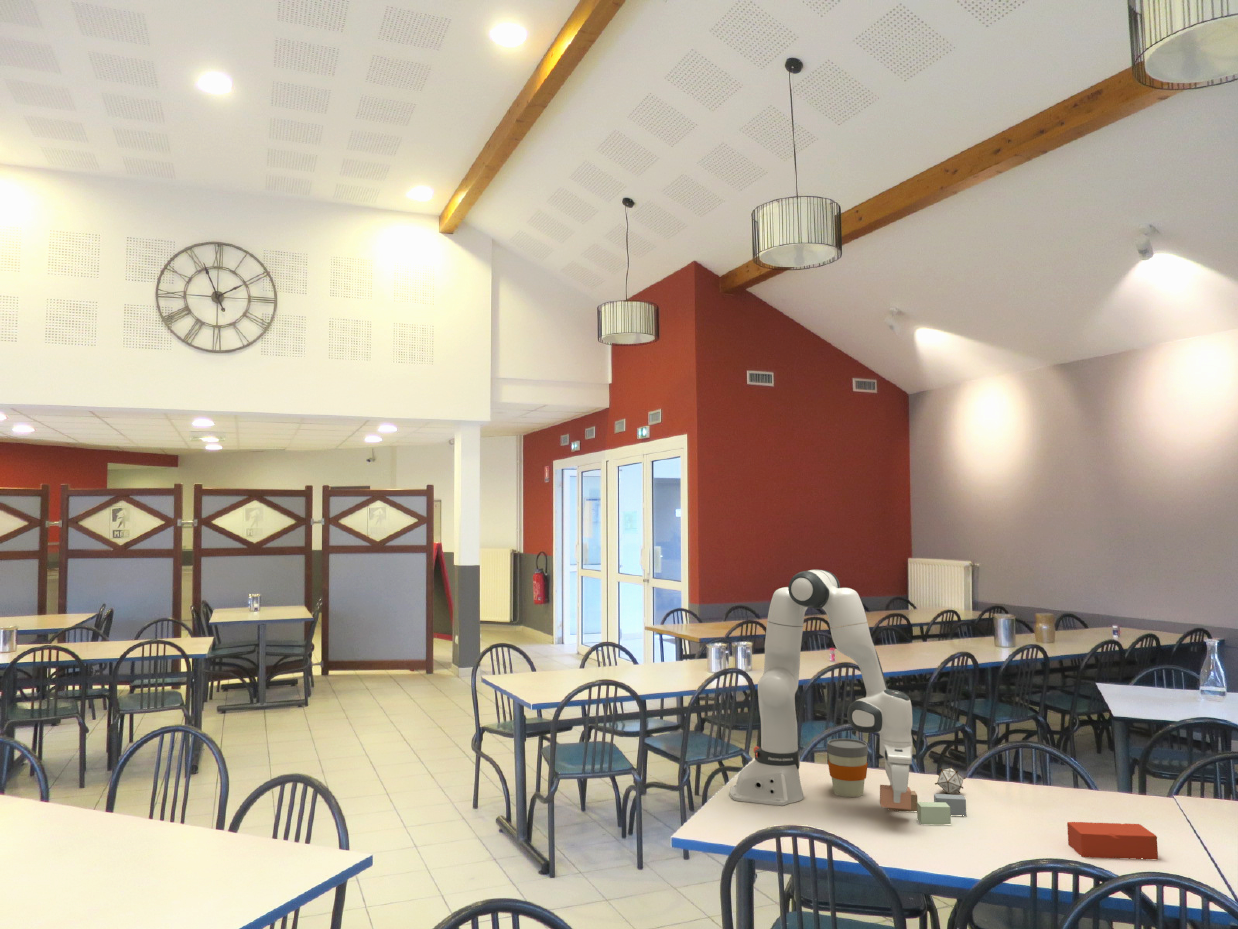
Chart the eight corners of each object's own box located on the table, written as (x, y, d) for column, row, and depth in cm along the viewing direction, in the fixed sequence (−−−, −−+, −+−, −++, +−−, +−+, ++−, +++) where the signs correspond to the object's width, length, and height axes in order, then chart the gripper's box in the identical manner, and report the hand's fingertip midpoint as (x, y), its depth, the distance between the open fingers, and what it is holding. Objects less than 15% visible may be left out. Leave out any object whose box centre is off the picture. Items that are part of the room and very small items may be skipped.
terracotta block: (881, 807, 242) (881, 789, 242) (879, 802, 246) (879, 784, 246) (911, 809, 240) (911, 791, 241) (908, 805, 244) (909, 787, 245)
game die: (957, 807, 264) (973, 786, 259) (931, 797, 264) (946, 776, 260) (953, 785, 272) (968, 764, 267) (928, 775, 272) (942, 754, 267)
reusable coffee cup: (819, 789, 271) (818, 741, 272) (850, 784, 276) (849, 736, 277) (845, 801, 259) (844, 750, 260) (878, 795, 264) (876, 745, 266)
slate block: (937, 816, 246) (936, 798, 246) (934, 811, 250) (933, 793, 250) (966, 817, 245) (965, 799, 245) (963, 812, 249) (962, 795, 249)
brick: (1140, 847, 222) (1139, 823, 222) (1158, 861, 213) (1157, 836, 213) (1067, 845, 224) (1066, 821, 224) (1082, 858, 215) (1081, 833, 215)
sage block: (921, 825, 239) (920, 806, 239) (917, 820, 243) (916, 802, 243) (950, 825, 238) (950, 807, 239) (946, 820, 242) (945, 802, 243)
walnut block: (889, 811, 250) (888, 794, 250) (887, 807, 254) (886, 789, 254) (917, 812, 249) (917, 795, 249) (915, 808, 253) (914, 791, 253)
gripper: (880, 739, 255) (879, 786, 254) (888, 758, 235) (887, 809, 234) (902, 740, 254) (902, 788, 253) (912, 760, 234) (912, 811, 233)
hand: (895, 799), depth 243 cm, fingers closed on terracotta block, 4 cm apart
